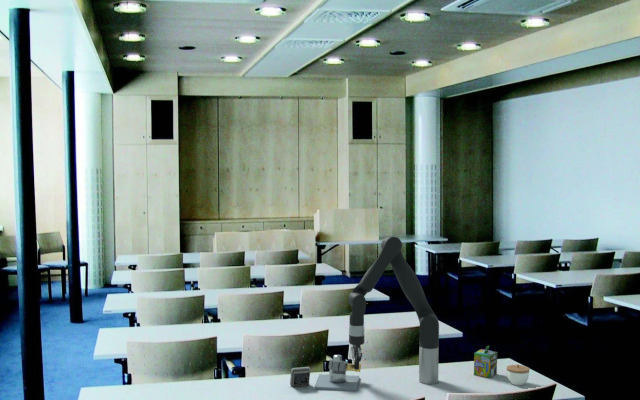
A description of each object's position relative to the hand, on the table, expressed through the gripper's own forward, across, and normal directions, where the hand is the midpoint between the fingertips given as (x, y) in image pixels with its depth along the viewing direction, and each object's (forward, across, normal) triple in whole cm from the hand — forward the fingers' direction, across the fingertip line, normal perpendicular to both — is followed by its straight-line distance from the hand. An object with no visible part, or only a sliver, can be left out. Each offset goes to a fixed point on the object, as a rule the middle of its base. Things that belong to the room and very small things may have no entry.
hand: (356, 369), depth 348 cm
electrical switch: (+7, 0, +27) cm, 28 cm away
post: (+6, +1, +9) cm, 11 cm away
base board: (+7, +1, +9) cm, 12 cm away
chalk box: (+7, +1, -68) cm, 68 cm away
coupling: (+1, +2, +6) cm, 6 cm away
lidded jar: (+7, -16, -77) cm, 79 cm away
